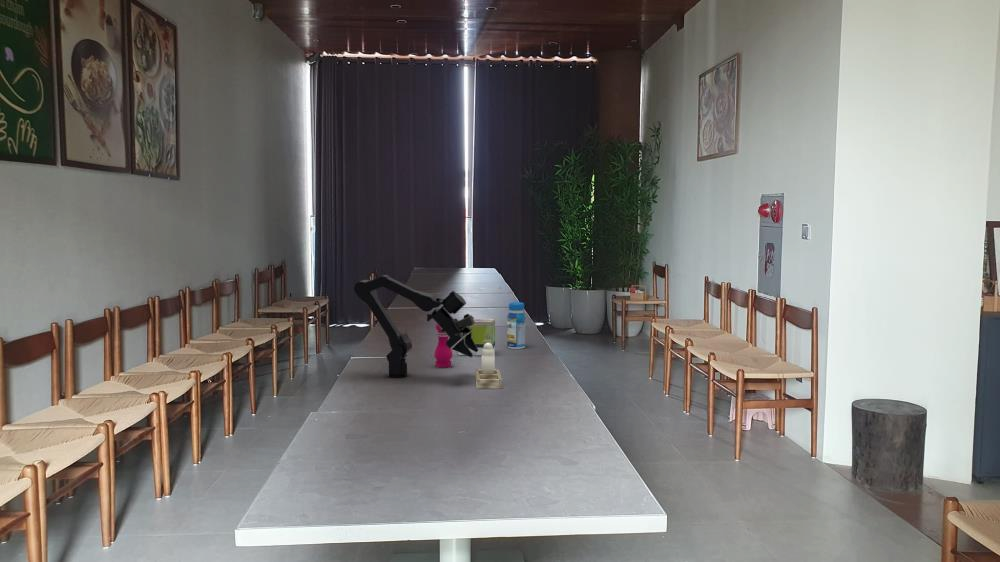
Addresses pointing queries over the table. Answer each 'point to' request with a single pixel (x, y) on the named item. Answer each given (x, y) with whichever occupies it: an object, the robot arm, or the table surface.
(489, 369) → the white pawn figure
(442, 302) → the robot arm
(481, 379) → the divided wooden tray
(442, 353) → the pepper mill
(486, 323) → the tea box
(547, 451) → the table surface
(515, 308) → the beverage bottle
